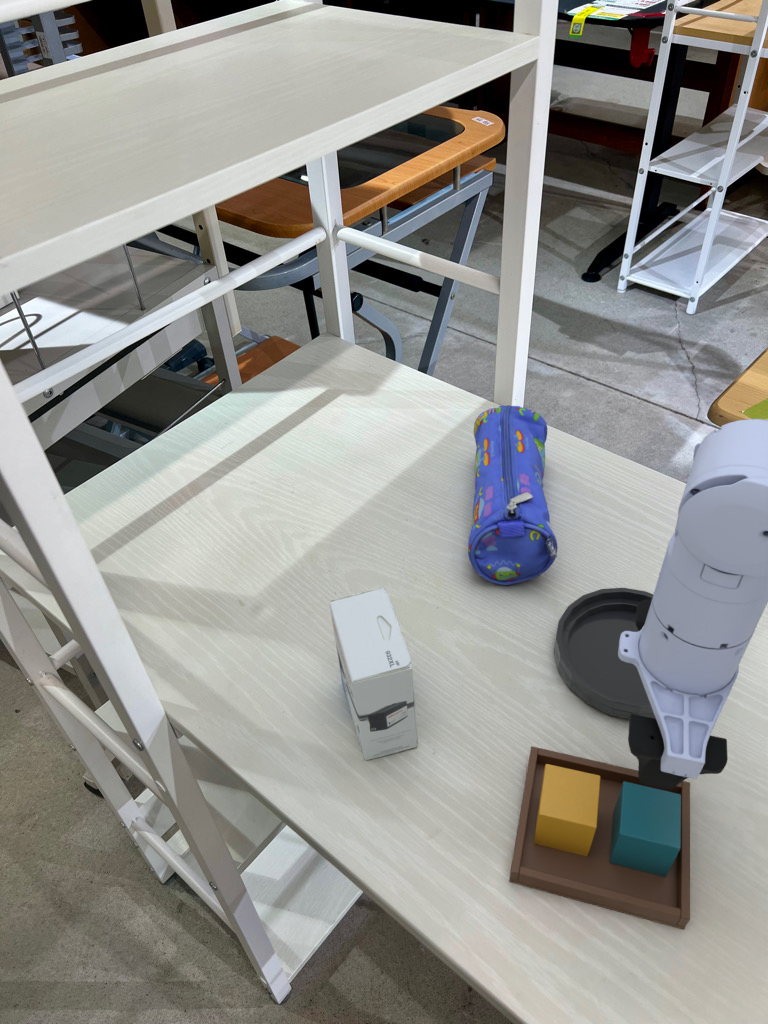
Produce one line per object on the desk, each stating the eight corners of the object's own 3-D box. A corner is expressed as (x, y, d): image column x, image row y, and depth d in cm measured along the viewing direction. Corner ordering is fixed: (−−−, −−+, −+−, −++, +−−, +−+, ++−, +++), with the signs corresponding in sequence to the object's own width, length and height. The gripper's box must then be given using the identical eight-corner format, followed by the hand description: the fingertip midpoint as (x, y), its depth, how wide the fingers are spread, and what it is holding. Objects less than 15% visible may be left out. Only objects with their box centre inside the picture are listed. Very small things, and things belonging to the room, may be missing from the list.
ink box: (340, 680, 68) (326, 597, 60) (392, 667, 69) (384, 583, 61) (363, 763, 62) (350, 683, 54) (419, 747, 63) (415, 666, 55)
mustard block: (587, 857, 55) (596, 827, 52) (533, 843, 56) (538, 814, 53) (591, 806, 58) (600, 775, 55) (539, 794, 59) (545, 763, 56)
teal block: (665, 877, 54) (680, 848, 51) (609, 863, 55) (619, 833, 52) (667, 824, 57) (681, 794, 53) (612, 811, 58) (623, 780, 54)
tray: (684, 793, 59) (690, 782, 58) (684, 929, 52) (690, 920, 50) (529, 757, 62) (531, 745, 61) (509, 881, 55) (510, 871, 53)
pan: (701, 618, 71) (707, 601, 69) (702, 737, 62) (710, 721, 60) (562, 594, 74) (565, 577, 73) (545, 704, 65) (548, 688, 64)
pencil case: (553, 597, 74) (563, 528, 68) (466, 593, 75) (468, 525, 69) (543, 457, 90) (550, 390, 83) (471, 455, 91) (473, 389, 85)
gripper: (638, 514, 49) (606, 639, 59) (624, 699, 39) (589, 815, 49) (752, 532, 48) (701, 658, 57) (769, 730, 38) (704, 843, 47)
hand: (657, 732), depth 53 cm, fingers open, 7 cm apart
